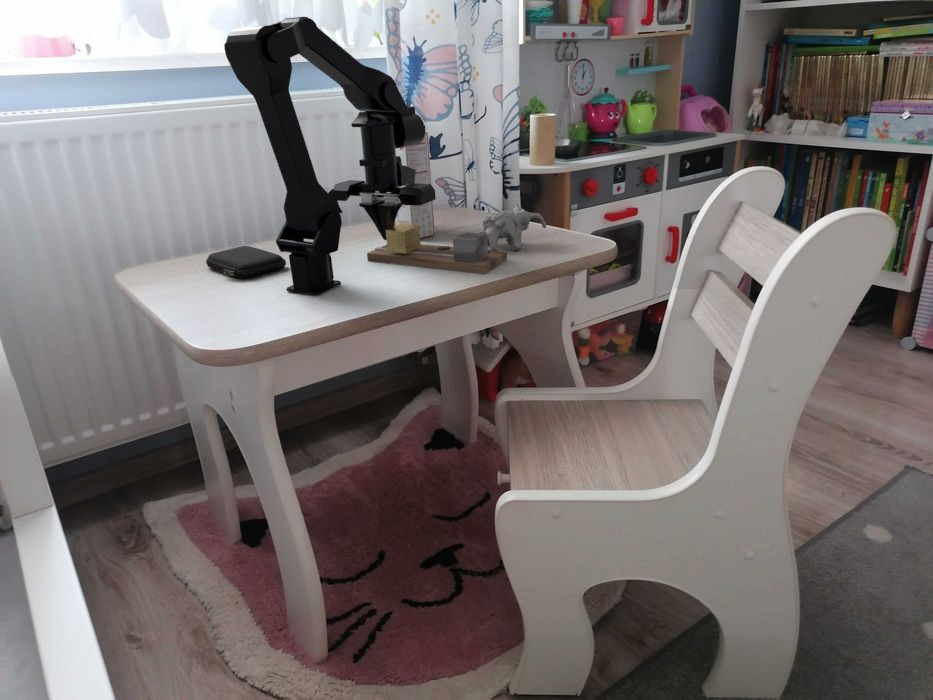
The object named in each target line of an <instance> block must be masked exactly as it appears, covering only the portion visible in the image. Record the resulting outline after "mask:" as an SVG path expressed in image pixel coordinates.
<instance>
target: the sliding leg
mask: <svg viewBox="0 0 933 700" xmlns="http://www.w3.org/2000/svg"><path fill="white" fill-rule="evenodd" d="M385 241H386V245H387V251H388V252H394V253H404V254H407V253H409V252H411V251H413V250H415V249H417V248H419V247H421V244H422V243H421V242H422V241H421V239H420V224H413V225H410V224H399V225H397V226H394V227H392V228H389V229H387V230H386V240H385Z"/></svg>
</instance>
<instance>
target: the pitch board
mask: <svg viewBox="0 0 933 700" xmlns="http://www.w3.org/2000/svg"><path fill="white" fill-rule="evenodd" d="M452 245H453V246H446V245H439V244H438V245H437V244H426V243H421V247H419V248H417V249H415V250H413V251H411V252H409V253H407V254H404V253H394V252H388V251H387V244H384V245H382V246H380V247H376V248H374V250H371V251H367V253H366V258H367V262H373V263H383V264H391V265H397V266H398V265H400V266H406V267H407V266H408V267H416V268H418V267H419V268H424V269H425V268H426V269H427V268H428V269H437V270H445V271H452V272H463V273H470V274H471V273H472V274H479V275H485V274H487V273H488V272H490V271H492V270H493V269H495V268H496V267H498V266H501V264H503V263H504V262H506V261H507V260H508V255H507V254H508V253H507V251H502V250H499V251H492V250H491V249H490V250H489V249H488V248H489V247H488V246H489V245H487V234H486V232H483V231H480V232H475V231H474V232H471V231H466V232H464V233H462V234H460V235H458V236H456V237H453V238H452Z"/></svg>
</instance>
